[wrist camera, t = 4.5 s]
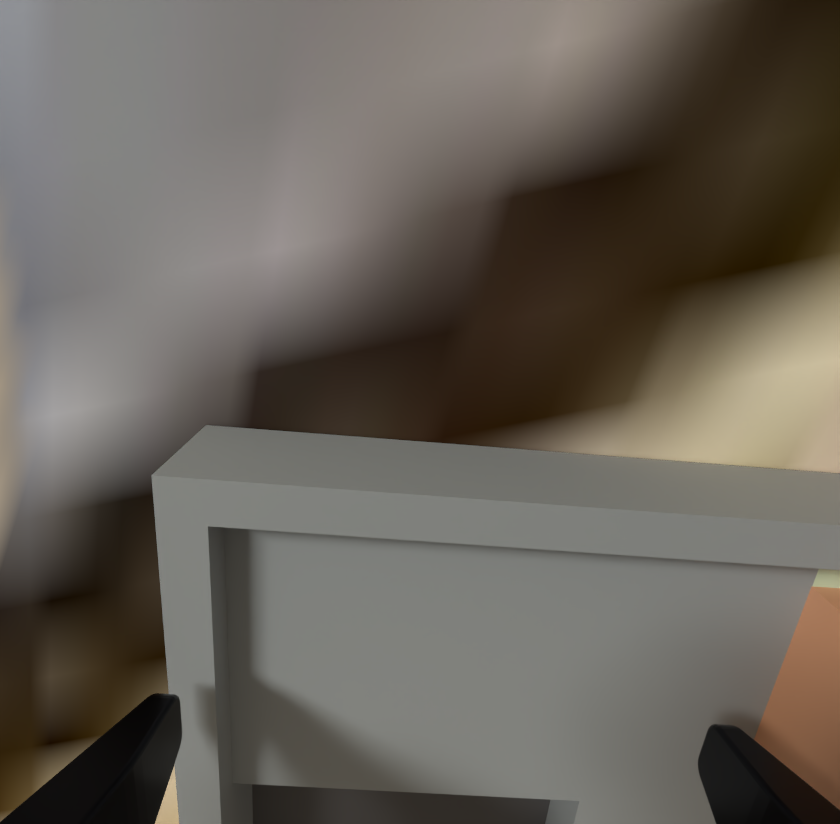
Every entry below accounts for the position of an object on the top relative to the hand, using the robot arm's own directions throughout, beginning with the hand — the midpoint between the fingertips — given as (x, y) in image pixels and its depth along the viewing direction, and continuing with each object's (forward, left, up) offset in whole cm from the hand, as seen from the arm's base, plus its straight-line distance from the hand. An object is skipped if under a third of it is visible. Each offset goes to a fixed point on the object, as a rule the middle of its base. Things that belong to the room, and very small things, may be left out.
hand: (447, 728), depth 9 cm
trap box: (-4, +4, -3) cm, 6 cm away
